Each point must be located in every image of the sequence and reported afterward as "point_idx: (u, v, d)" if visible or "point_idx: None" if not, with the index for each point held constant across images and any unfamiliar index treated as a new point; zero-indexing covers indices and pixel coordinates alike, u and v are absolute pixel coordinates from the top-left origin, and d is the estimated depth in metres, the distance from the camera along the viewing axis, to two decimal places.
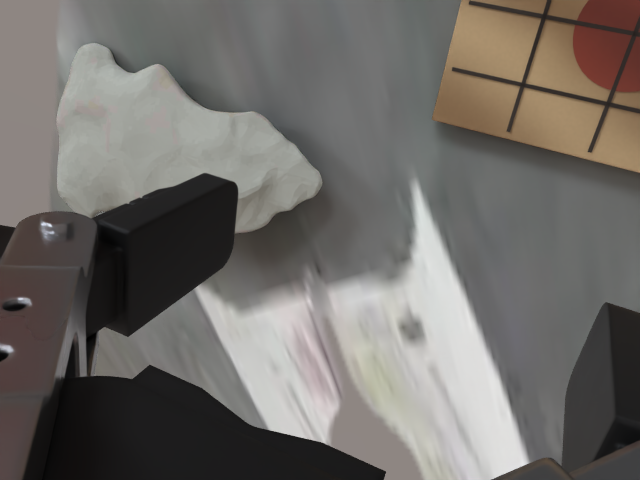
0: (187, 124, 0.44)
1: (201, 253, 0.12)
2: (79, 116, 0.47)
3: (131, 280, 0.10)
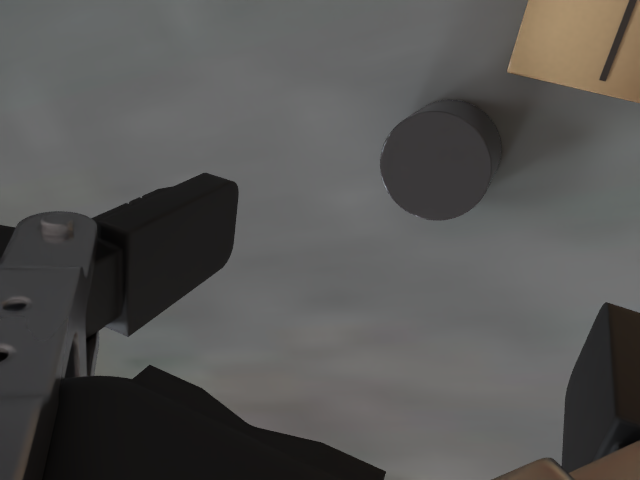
0: None
1: (201, 253, 0.12)
2: None
3: (131, 280, 0.10)
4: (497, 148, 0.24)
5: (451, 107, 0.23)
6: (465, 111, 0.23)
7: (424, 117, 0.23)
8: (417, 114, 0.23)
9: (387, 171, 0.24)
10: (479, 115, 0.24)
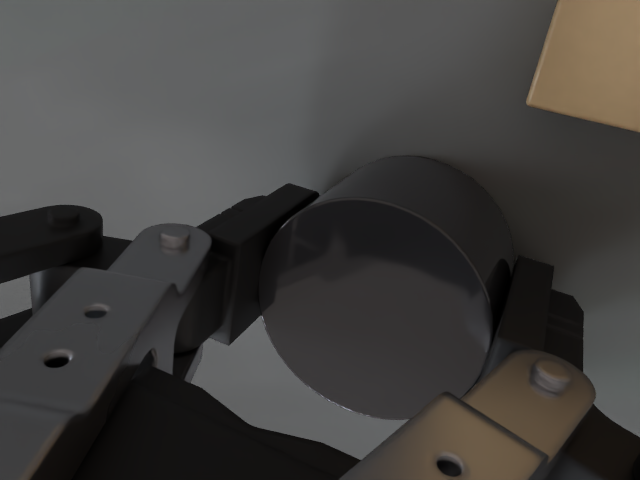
0: None
1: None
2: None
3: (235, 290, 0.11)
4: (506, 265, 0.11)
5: (403, 182, 0.11)
6: (434, 191, 0.11)
7: (339, 210, 0.10)
8: (324, 202, 0.10)
9: (272, 314, 0.12)
10: (466, 195, 0.11)
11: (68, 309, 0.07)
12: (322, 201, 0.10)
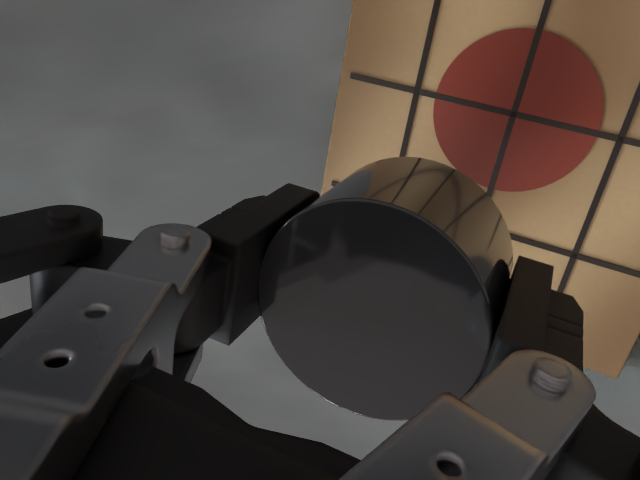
0: None
1: None
2: None
3: (236, 290, 0.11)
4: (505, 266, 0.11)
5: (403, 183, 0.11)
6: (434, 192, 0.11)
7: (339, 211, 0.10)
8: (324, 203, 0.10)
9: (272, 315, 0.12)
10: (466, 196, 0.11)
11: (67, 309, 0.07)
12: (322, 202, 0.10)
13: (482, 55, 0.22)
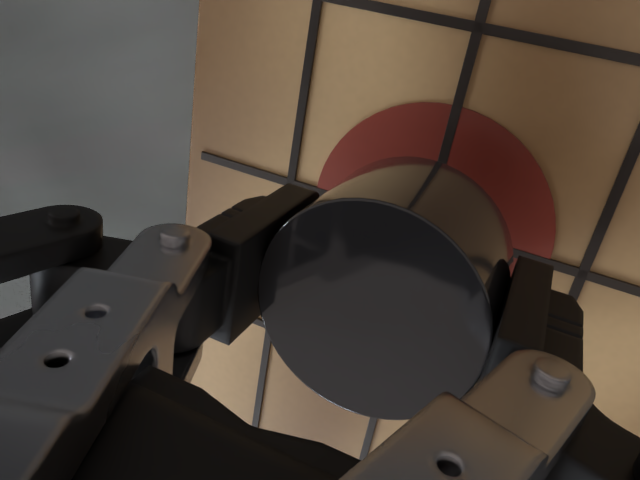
0: None
1: None
2: None
3: (236, 290, 0.11)
4: (505, 266, 0.11)
5: (403, 183, 0.11)
6: (434, 191, 0.11)
7: (339, 210, 0.10)
8: (324, 203, 0.10)
9: (272, 315, 0.12)
10: (466, 195, 0.11)
11: (68, 309, 0.07)
12: (322, 202, 0.10)
13: (377, 139, 0.15)
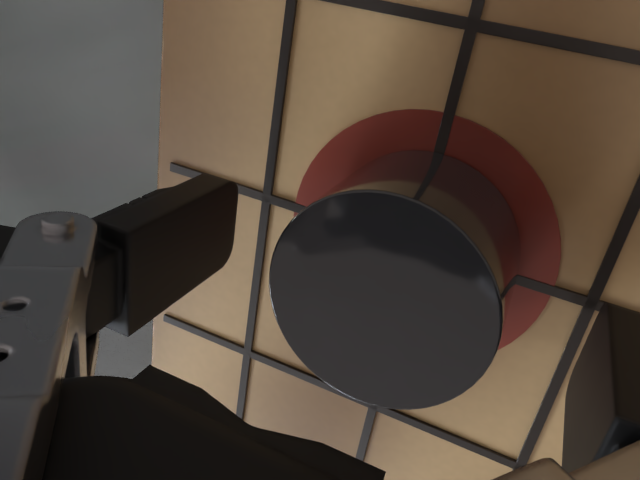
0: None
1: (201, 253, 0.12)
2: None
3: (131, 280, 0.10)
4: (513, 257, 0.11)
5: (413, 175, 0.11)
6: (443, 184, 0.11)
7: (350, 202, 0.10)
8: (335, 195, 0.10)
9: (283, 306, 0.12)
10: (475, 188, 0.11)
11: None
12: (333, 193, 0.10)
13: (361, 150, 0.13)
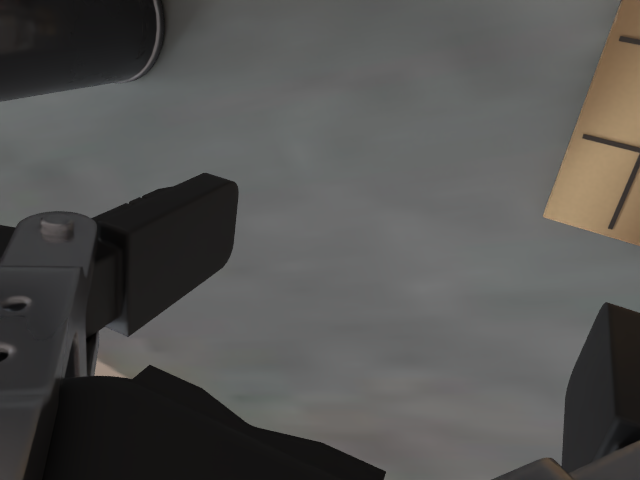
0: None
1: (201, 253, 0.12)
2: None
3: (131, 280, 0.10)
4: None
5: None
6: None
7: None
8: None
9: None
10: None
11: None
12: None
13: None
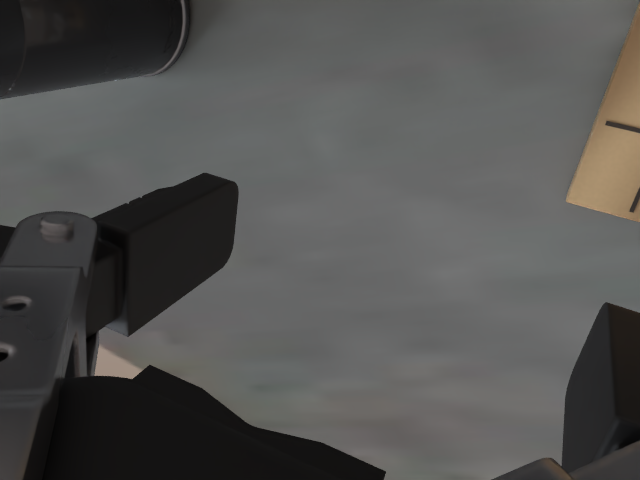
0: None
1: (201, 253, 0.12)
2: None
3: (131, 280, 0.10)
4: None
5: None
6: None
7: None
8: None
9: None
10: None
11: None
12: None
13: None
